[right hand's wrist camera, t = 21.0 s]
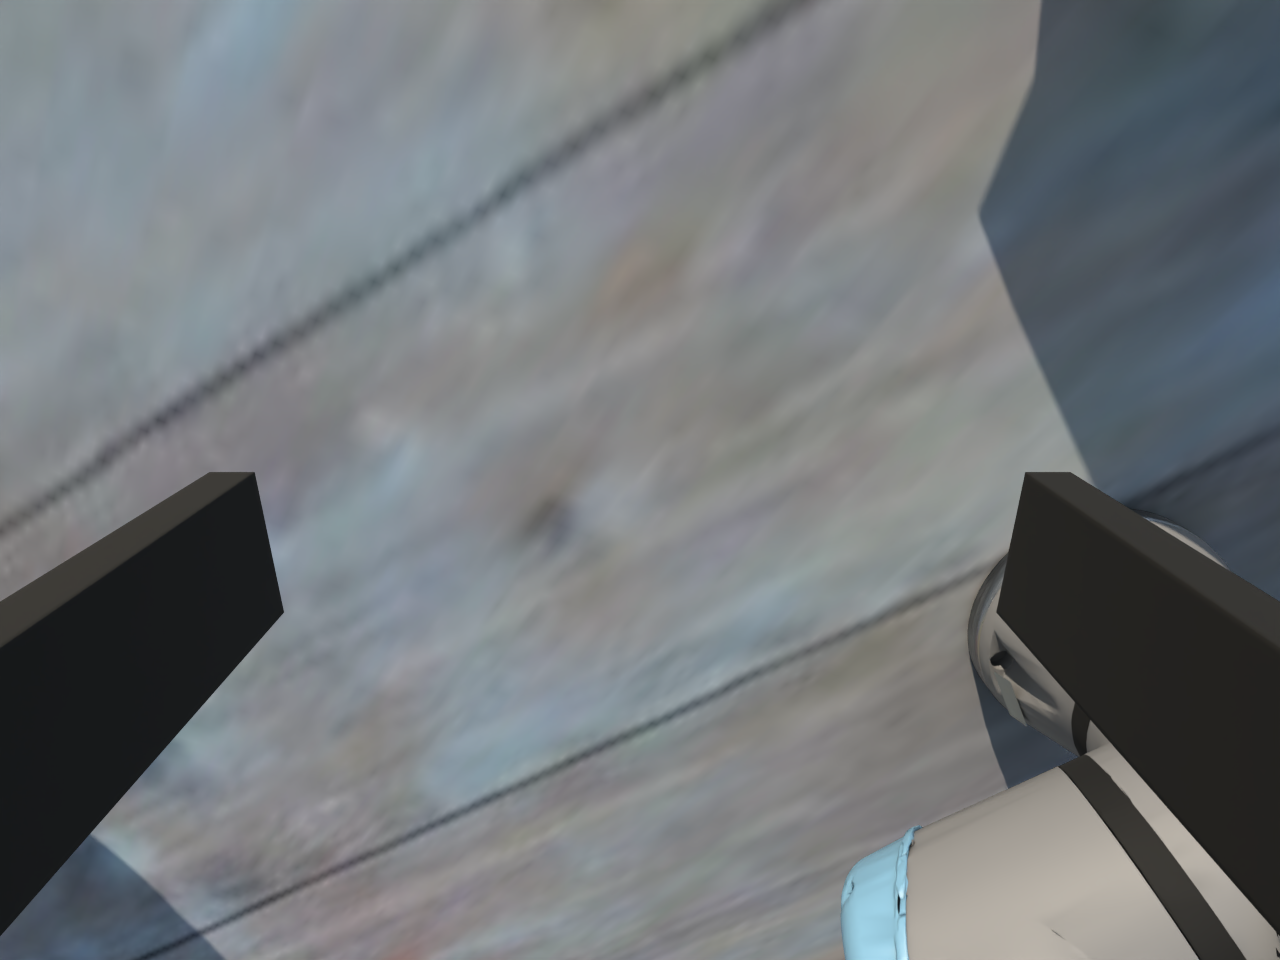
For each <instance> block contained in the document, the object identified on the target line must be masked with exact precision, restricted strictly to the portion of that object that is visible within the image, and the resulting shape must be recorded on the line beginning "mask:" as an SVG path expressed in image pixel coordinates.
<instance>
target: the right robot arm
mask: <svg viewBox="0 0 1280 960" xmlns="http://www.w3.org/2000/svg"><path fill="white" fill-rule="evenodd" d="M283 613H284V610H283V606H282V601H281V596H280V591H279V587H278V582H277V577H276V572H275V567H274V563H273V558H272V553H271V548H270V544H269V539H268V534H267V529H266V524H265V520H264V515H263V510H262V505H261V501H260V496H259V491H258V486H257V481H256V477H255V472H209V473H208V474H206V475H204V476H203V477H201V478H199V479H198V480H196V481H195V482H193V483H191V484H190V485H188V486H187V487H185V488H183V489H182V490H180V491H178V492H177V493H175V494H174V495H172V496H170V497H169V498H167V499H166V500H164V501H162V502H161V503H159V504H157V505H156V506H154V507H153V508H151V509H149V510H148V511H146V512H145V513H143V514H141V515H140V516H138V517H136V518H135V519H133V520H132V521H130V522H128V523H127V524H125V525H124V526H122V527H120V528H119V529H117V530H115V531H114V532H112V533H111V534H109V535H107V536H106V537H104V538H102V539H101V540H99V541H98V542H96V543H94V544H93V545H91V546H90V547H88V548H86V549H85V550H83V551H81V552H80V553H78V554H77V555H75V556H73V557H72V558H70V559H69V560H67V561H65V562H64V563H62V564H60V565H59V566H57V567H56V568H54V569H52V570H51V571H49V572H48V573H46V574H44V575H43V576H41V577H39V578H38V579H36V580H35V581H33V582H31V583H30V584H28V585H26V586H25V587H23V588H22V589H20V590H18V591H17V592H15V593H14V594H12V595H10V596H9V597H7V598H5V599H4V600H2V601H1V602H0V936H1V935H2V933H3V932H4V931H5V930H6V929H7V928H8V927H9V926H10V924H11V923H12V922H13V921H14V920H15V919H16V918H17V916H18V915H19V914H20V913H21V912H22V911H23V910H24V908H25V907H26V906H27V905H28V904H29V903H30V902H31V900H32V899H33V898H34V897H35V896H36V895H37V894H38V892H39V891H40V890H41V889H42V888H43V887H44V886H45V884H46V883H47V882H48V881H49V880H50V879H51V878H52V876H53V875H54V874H55V873H56V872H57V871H58V870H59V868H60V867H61V866H62V865H63V864H64V863H65V862H66V860H67V859H68V858H69V857H70V856H71V855H72V854H73V852H74V851H75V850H76V849H77V848H78V847H79V846H80V844H81V843H82V842H83V841H84V840H85V839H86V838H87V837H88V835H89V834H90V833H91V832H92V831H93V830H94V829H95V827H96V826H97V825H98V824H99V823H100V822H101V821H102V819H103V818H104V817H105V816H106V815H107V814H108V813H109V811H110V810H111V809H112V808H113V807H114V806H115V805H116V803H117V802H118V801H119V800H120V799H121V798H122V797H123V795H124V794H125V793H126V792H127V791H128V790H129V789H130V787H131V786H132V785H133V784H134V783H135V782H136V781H137V779H138V778H139V777H140V776H141V775H142V774H143V773H144V771H145V770H146V769H147V768H148V767H149V766H150V765H151V763H152V762H153V761H154V760H155V759H156V758H157V757H158V755H159V754H160V753H161V752H162V751H163V750H164V749H165V748H166V746H167V745H168V744H169V743H170V742H171V741H172V740H173V738H174V737H175V736H176V735H177V734H178V733H179V732H180V730H181V729H182V728H183V727H184V726H185V725H186V724H187V722H188V721H189V720H190V719H191V718H192V717H193V716H194V714H195V713H196V712H197V711H198V710H199V709H200V708H201V706H202V705H203V704H204V703H205V702H206V701H207V700H208V698H209V697H210V696H211V695H212V694H213V693H214V692H215V690H216V689H217V688H218V687H219V686H220V685H221V684H222V682H223V681H224V680H225V679H226V678H227V677H228V676H229V674H230V673H231V672H232V671H233V670H234V669H235V668H236V666H237V665H238V664H239V663H240V662H241V661H242V660H243V658H244V657H245V656H246V655H247V654H248V653H249V652H250V651H251V649H252V648H253V647H254V646H255V645H256V644H257V643H258V641H259V640H260V639H261V638H262V637H263V636H264V635H265V633H266V632H267V631H268V630H269V629H270V628H271V627H272V625H273V624H274V623H275V622H276V621H277V620H278V619H279V617H280V616H281V615H282V614H283ZM968 646H969V652H970V656H971V659H972V662H973V665H974V667H975V669H976V671H977V673H978V675H979V676H980V678H981V679H982V680H983V682H984V683H985V685H986V686H987V687H988V689H989V690H990V691H991V693H992V694H993V696H994V697H995V698H996V699H997V700H998V701H999V702H1000V704H1001V705H1003V706H1004V707H1005V708H1006V709H1007V710H1008V711H1009V714H1010V715H1011V716H1012V717H1014V718H1015V719H1016V720H1018V721H1019V722H1021V723H1022V724H1024V725H1025V726H1027V725H1026V724H1028V725H1030V726H1031V727H1033V728H1034V729H1036V730H1037V731H1039V732H1041V733H1042V734H1044V735H1045V736H1047V737H1048V738H1050V739H1052V740H1053V741H1055V742H1056V743H1058V744H1059V745H1061V746H1063V747H1064V748H1066V749H1067V750H1069V751H1070V752H1072V753H1074V754H1075V755H1077V756H1078V758H1076V759H1074V760H1071V761H1069V762H1067V763H1065V764H1063V765H1061V766H1058V767H1055V768H1053V769H1051V770H1049V771H1047V772H1044V773H1042V774H1040V775H1038V776H1036V777H1033V778H1031V779H1029V780H1027V781H1025V782H1022V783H1020V784H1018V785H1016V786H1014V787H1011V788H1009V789H1007V790H1005V791H1003V792H1000V793H998V794H996V795H994V796H992V797H989V798H987V799H985V800H983V801H981V802H978V803H976V804H974V805H972V806H970V807H967V808H965V809H963V810H961V811H959V812H956V813H954V814H952V815H950V816H948V817H945V818H943V819H941V820H939V821H937V822H934V823H932V824H930V825H928V826H926V827H921V826H920V825H919V826H915V827H912V828H910V829H909V830H908V831H907V832H906V833H905V835H904V837H902V838H900V839H898V840H897V841H895V842H893V843H891V844H889V845H887V846H885V847H883V848H882V849H880V850H878V851H876V852H874V853H872V854H870V855H868V856H867V857H865V858H863V859H861V860H860V861H859V862H857V863H856V864H855V865H854V867H853V868H852V869H851V871H850V872H849V874H848V876H847V878H846V880H845V883H844V887H843V891H842V898H841V930H842V939H843V947H844V954H845V960H1280V602H1279V601H1278V600H1276V599H1275V598H1273V597H1271V596H1270V595H1268V594H1266V593H1265V592H1263V591H1262V590H1260V589H1258V588H1257V587H1255V586H1254V585H1252V584H1250V583H1249V582H1247V581H1245V580H1244V579H1242V578H1241V577H1239V576H1237V575H1236V574H1234V573H1232V572H1231V571H1230V569H1229V568H1228V567H1227V565H1226V564H1225V562H1224V561H1223V560H1222V559H1221V557H1220V556H1219V555H1218V554H1217V553H1216V552H1215V551H1214V550H1213V549H1212V548H1211V547H1210V546H1209V545H1208V544H1207V543H1206V542H1204V541H1203V540H1202V539H1201V538H1200V537H1198V536H1196V535H1195V534H1193V533H1191V532H1190V531H1188V530H1186V529H1185V528H1183V527H1181V526H1180V525H1178V524H1176V523H1175V522H1173V521H1171V520H1169V519H1167V518H1165V517H1162V516H1159V515H1156V514H1153V513H1150V512H1145V511H1141V510H1133V509H1129V508H1127V507H1126V506H1124V505H1123V504H1121V503H1119V502H1118V501H1116V500H1114V499H1113V498H1111V497H1110V496H1108V495H1106V494H1105V493H1103V492H1102V491H1100V490H1098V489H1097V488H1095V487H1093V486H1092V485H1090V484H1089V483H1087V482H1085V481H1084V480H1082V479H1080V478H1079V477H1077V476H1076V475H1074V474H1072V473H1071V472H1025V477H1024V481H1023V486H1022V491H1021V496H1020V501H1019V505H1018V510H1017V515H1016V520H1015V524H1014V529H1013V534H1012V539H1011V544H1010V548H1009V552H1008V553H1007V554H1006V555H1005V556H1004V557H1003V558H1002V559H1001V560H1000V562H999V563H998V564H997V565H996V566H995V567H994V569H993V570H992V571H991V573H990V574H989V575H988V577H987V578H986V580H985V581H984V583H983V585H982V586H981V588H980V590H979V592H978V594H977V596H976V599H975V601H974V604H973V607H972V610H971V614H970V618H969V624H968Z"/></svg>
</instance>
